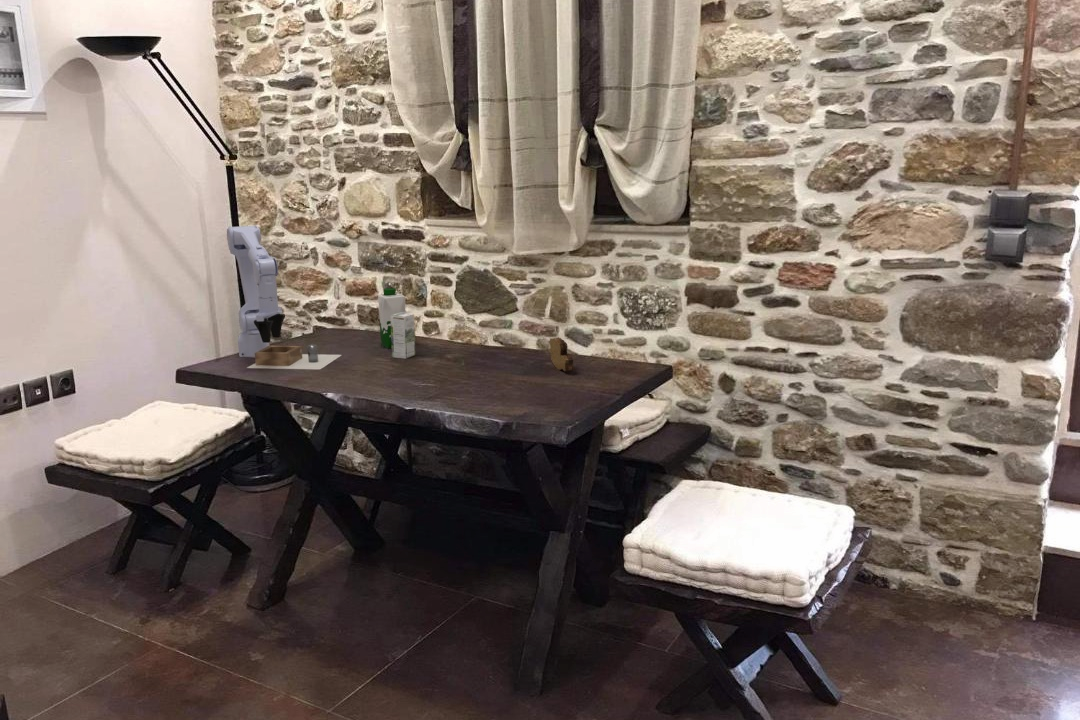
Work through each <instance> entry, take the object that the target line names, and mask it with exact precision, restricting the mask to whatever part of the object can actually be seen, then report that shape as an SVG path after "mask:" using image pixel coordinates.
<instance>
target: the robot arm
mask: <svg viewBox="0 0 1080 720" xmlns="http://www.w3.org/2000/svg"><path fill="white" fill-rule="evenodd" d="M226 240H227V246H228V250H229V252H230V254H231V255H233V256H235V258H236V261H237V265H238V271H239V275H240V279H241V280H240V281H241V286H242V287H241V288H242V292H243V295H244V302H245V303H244V305H242V307H240V309H239V310H238V323H239V327H240V328H239V329H240V330H241V332H240V333H239V335H238V338H237V346H238V355H239V358H255V353H256V352H258V351H260V350H262V349H264V348H266V347H268V346H270V342H271V339H272V338H280V337H281V334H282V328H283V327H282V326H283V324H284V321H285V318H286V315H285V313H283V310H282V307H281V306H279V300H278V288H277V276H278V274H279V267H278V262H277V259H276V257H273V256H270V254H269V253H268V251H267V249H266V248H265V247H264V246H263V245H260V244H261V241H262V235H261V229H260V227H259V226H258V225H257V224H254V225H244V226H228V227H227V229H226ZM271 337H272V338H271Z"/></svg>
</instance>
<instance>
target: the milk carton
mask: <svg viewBox="0 0 1080 720" xmlns="http://www.w3.org/2000/svg"><path fill="white" fill-rule="evenodd" d="M377 300H378V301H377V302H378V317H379V318H378V320H379V331H380V333H379V335H380V342H381V346H382V345H383V347H384V346H385V347H384V348H386V349H387V348H388V349H389V348H390V349H392V343H391V315H394V314H397V313H402V312H404V313H407V312H406V310H407V309H406V295H404V294H401V293H397V292H396V288H392V287H387V288H383V294H378V295H377ZM388 349H387V350H388ZM390 349H389V350H390Z"/></svg>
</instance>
